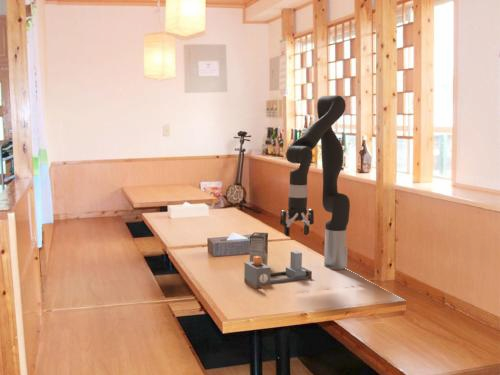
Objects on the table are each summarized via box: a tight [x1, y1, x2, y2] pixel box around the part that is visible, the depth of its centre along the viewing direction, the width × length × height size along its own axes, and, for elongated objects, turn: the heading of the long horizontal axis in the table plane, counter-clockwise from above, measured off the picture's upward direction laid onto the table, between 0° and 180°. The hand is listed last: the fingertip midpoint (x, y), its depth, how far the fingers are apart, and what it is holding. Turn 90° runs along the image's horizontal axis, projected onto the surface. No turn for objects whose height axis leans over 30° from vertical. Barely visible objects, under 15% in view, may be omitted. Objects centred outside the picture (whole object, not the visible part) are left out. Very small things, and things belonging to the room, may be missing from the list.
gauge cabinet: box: [243, 261, 272, 286], centre depth 255 cm, size 6×11×6 cm, turn 26°
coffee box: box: [249, 231, 269, 266], centre depth 276 cm, size 9×6×16 cm
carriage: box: [285, 250, 306, 277], centre depth 263 cm, size 5×8×10 cm, turn 25°
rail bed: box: [243, 266, 313, 290], centre depth 260 cm, size 25×11×4 cm, turn 116°
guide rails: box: [269, 270, 310, 285], centre depth 261 cm, size 18×11×1 cm, turn 116°
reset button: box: [253, 256, 262, 265], centre depth 255 cm, size 3×3×3 cm
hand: (296, 235), depth 261 cm, fingers open, 8 cm apart
